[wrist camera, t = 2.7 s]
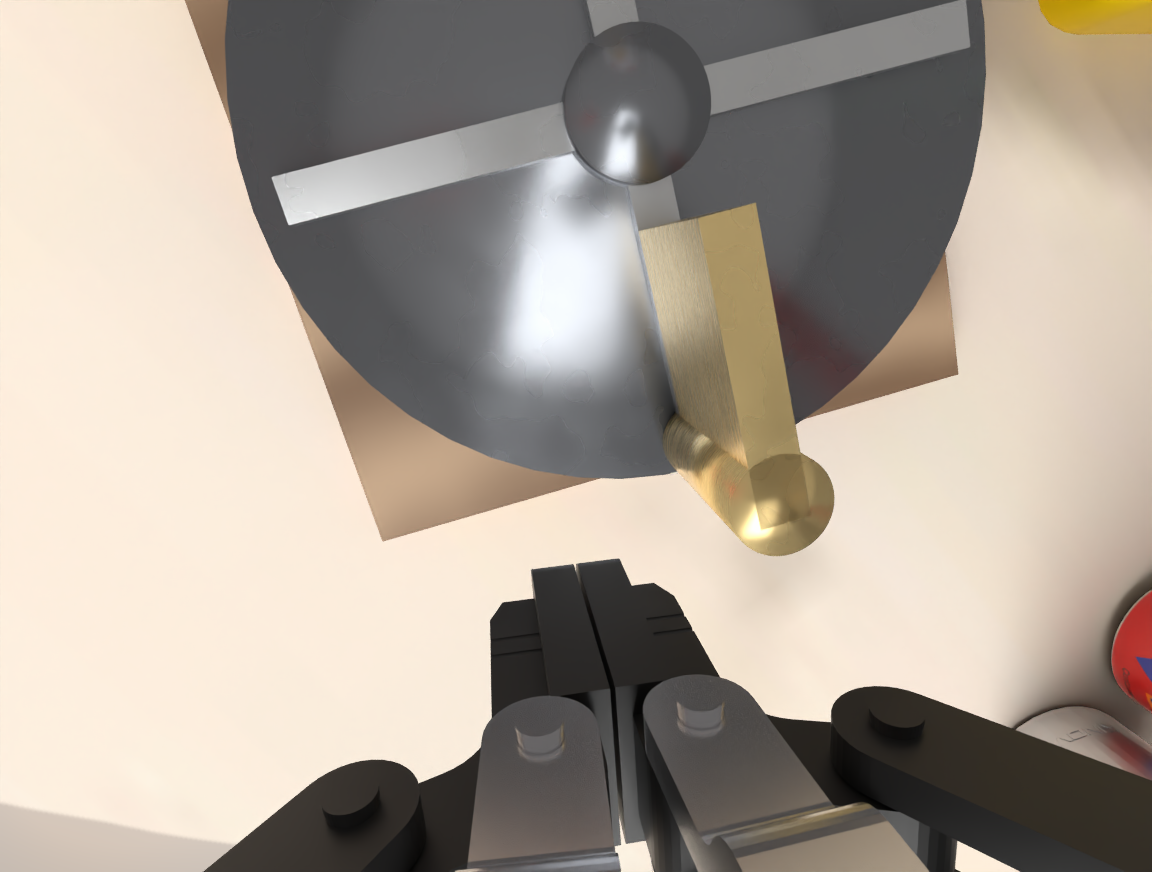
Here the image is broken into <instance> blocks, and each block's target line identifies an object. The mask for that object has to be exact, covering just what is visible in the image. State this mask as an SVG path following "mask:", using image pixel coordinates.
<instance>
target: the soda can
mask: <svg viewBox="0 0 1152 872" xmlns="http://www.w3.org/2000/svg"><path fill="white" fill-rule="evenodd" d="M1111 665H1112V670H1113V674H1114V677H1115V679H1116V682H1117V684H1118V685H1119V687H1120V688H1121V690H1122V691H1123V692H1124V693H1125V694H1126V695H1127V696H1128V697H1129V698H1131V699H1132V700H1133V701H1134V702H1136V703H1137V704H1138V705H1140V706H1141V707H1143V708H1144V709H1146V710H1147V711H1149V712H1150V713H1151V714H1152V589H1151V590H1150V591H1148V592H1147V593H1146V594H1144V595H1143V596H1142V597H1141V598H1140V599H1139V600H1138V601H1137V602H1136V603H1135V604H1134V605H1133V606H1132V607H1131V608H1130V610H1129V611H1128V612H1127V614H1126V615H1125V616H1124V618H1123V620H1122V621H1121V623H1120V625H1119V627H1118V629H1117V632H1116V634H1115V637H1114V641H1113V645H1112V652H1111Z"/></svg>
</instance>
